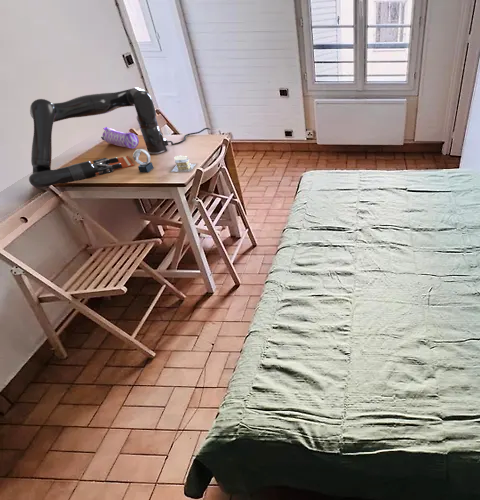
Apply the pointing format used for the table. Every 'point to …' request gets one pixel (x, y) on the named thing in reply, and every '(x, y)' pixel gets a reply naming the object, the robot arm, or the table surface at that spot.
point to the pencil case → (120, 138)
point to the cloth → (123, 162)
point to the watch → (143, 166)
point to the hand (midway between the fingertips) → (119, 162)
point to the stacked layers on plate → (182, 164)
